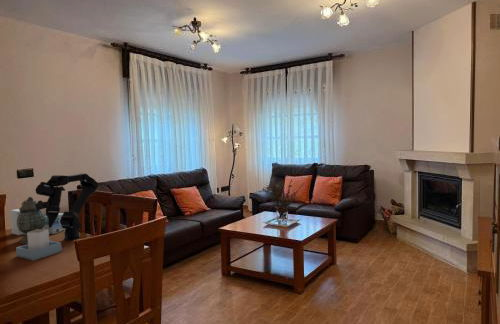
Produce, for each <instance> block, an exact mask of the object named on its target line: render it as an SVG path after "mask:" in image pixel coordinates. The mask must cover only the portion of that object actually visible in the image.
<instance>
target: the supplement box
mask: <svg viewBox="0 0 500 324" xmlns="http://www.w3.org/2000/svg"><path fill="white" fill-rule="evenodd" d="M19 209H20V208H17V209H10V223H11V234H13V235H17V236H23V235H25V233H22V232H21V231H20V230H19V229H18V227H17V218H18V216H19V214H20V210H19Z"/></svg>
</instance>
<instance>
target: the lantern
mask: <svg viewBox="0 0 500 324" xmlns="http://www.w3.org/2000/svg"><path fill="white" fill-rule="evenodd" d="M37 203H38V201H36V200H34V199H33V197H32V196H29V197H27V199H26V200H24V201H23V202H22V203H21V207H19V208H18V209H19V210H20V214H19V216H18V218H17V227H18V229H19V230H20V231H21V232H22V233H25V234H23V237H22V238H21V239H20V240H19V243H20V244H28V237H27V233H28V232H31V231H33V230H36V229H44V226H45V224H46V217H45V216H46V214H45V213H44V212H43V211H42V209H41V210H38V211H36V207H35V204H37Z"/></svg>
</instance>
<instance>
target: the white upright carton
mask: <svg viewBox="0 0 500 324" xmlns="http://www.w3.org/2000/svg"><path fill="white" fill-rule="evenodd" d="M27 237H28V243H27V244H28V250H32V251H34V250H37V249H41V248H44V247H47V246H50V244H49V241H50V234H49V230H48V229H44V228H43V229H36V230H33V231H31V232H28V233H27Z"/></svg>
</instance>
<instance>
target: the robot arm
mask: <svg viewBox="0 0 500 324" xmlns="http://www.w3.org/2000/svg"><path fill="white" fill-rule="evenodd" d="M73 182H74V183H75V182H79V184H80V185H81V192H80V193H79V195H78V197H77V198H76V200H75V202H74V203H73V205H72V206H71V208H70V210H68V211H64V212H63V215H62V217H61V220H60V223H61V225H62V228H63V229H65V230H64V238H63V240H65V241H66V240H67V241H73V240H76V239H79V238H81V236H80V232H79V231H80V228H81V227H82V223H81V222H80V221H79V218H80V217H79V214H80V212H81V210H82V209H83V207H84V206H85V204H86V202H87V201H88V198H89V196H91V195H92V194H93V193H95V191H97V189H98V187H99V184H98V182H97V181H96V180H95V178H93V177H91V176H90V175H88V173H79V174H77V173H76V174H72V175H71V174H70V175H64V174H63V175H62V174H61V175H59V174H58V175H55V174H54V175H51V177H50V178H49V180H47V182H46V181H40V183H39V184H38V185H37V186H36V188H35V193H36V195H39V196H44V197H48V199H47V200H46V201H42V200H38V201H37V204H35V207H36V211H38V210H41V211H42V210H44V209H45V216H47V217H48V221H49V228H51V227H52V225H53V224H54V222H55V220H56V218H57V217H58V215H59V213H60V212H61V211H60V210H61V207H60V206H61V200H62V192H65V191H66V189H65V188H64V186H65V185H68V184H70V183H73Z"/></svg>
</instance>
